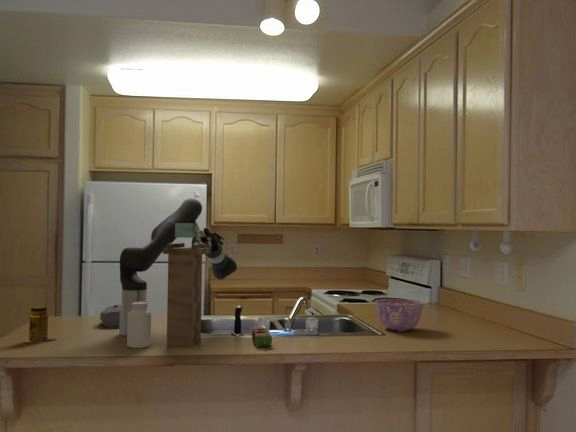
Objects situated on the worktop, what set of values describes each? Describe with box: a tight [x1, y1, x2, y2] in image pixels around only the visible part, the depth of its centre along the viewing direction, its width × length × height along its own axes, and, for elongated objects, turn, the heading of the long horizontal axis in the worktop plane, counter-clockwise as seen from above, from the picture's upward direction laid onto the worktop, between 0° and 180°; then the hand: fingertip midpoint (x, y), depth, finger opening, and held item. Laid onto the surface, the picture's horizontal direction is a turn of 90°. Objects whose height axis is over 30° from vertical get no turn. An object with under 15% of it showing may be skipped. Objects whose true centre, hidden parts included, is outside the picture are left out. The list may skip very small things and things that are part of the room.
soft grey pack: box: [99, 304, 122, 329], centre depth 232 cm, size 15×8×20 cm
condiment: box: [23, 306, 55, 344], centre depth 196 cm, size 7×8×12 cm
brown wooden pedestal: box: [162, 242, 211, 349], centre depth 194 cm, size 13×13×36 cm
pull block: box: [175, 222, 206, 239], centre depth 201 cm, size 22×6×5 cm, turn 168°
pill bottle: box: [126, 301, 152, 349], centre depth 189 cm, size 8×8×15 cm
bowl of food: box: [374, 298, 425, 332], centre depth 227 cm, size 20×20×12 cm
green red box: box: [251, 326, 273, 348], centre depth 196 cm, size 21×6×5 cm, turn 9°
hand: (200, 229), depth 206 cm, fingers closed on pull block, 3 cm apart
